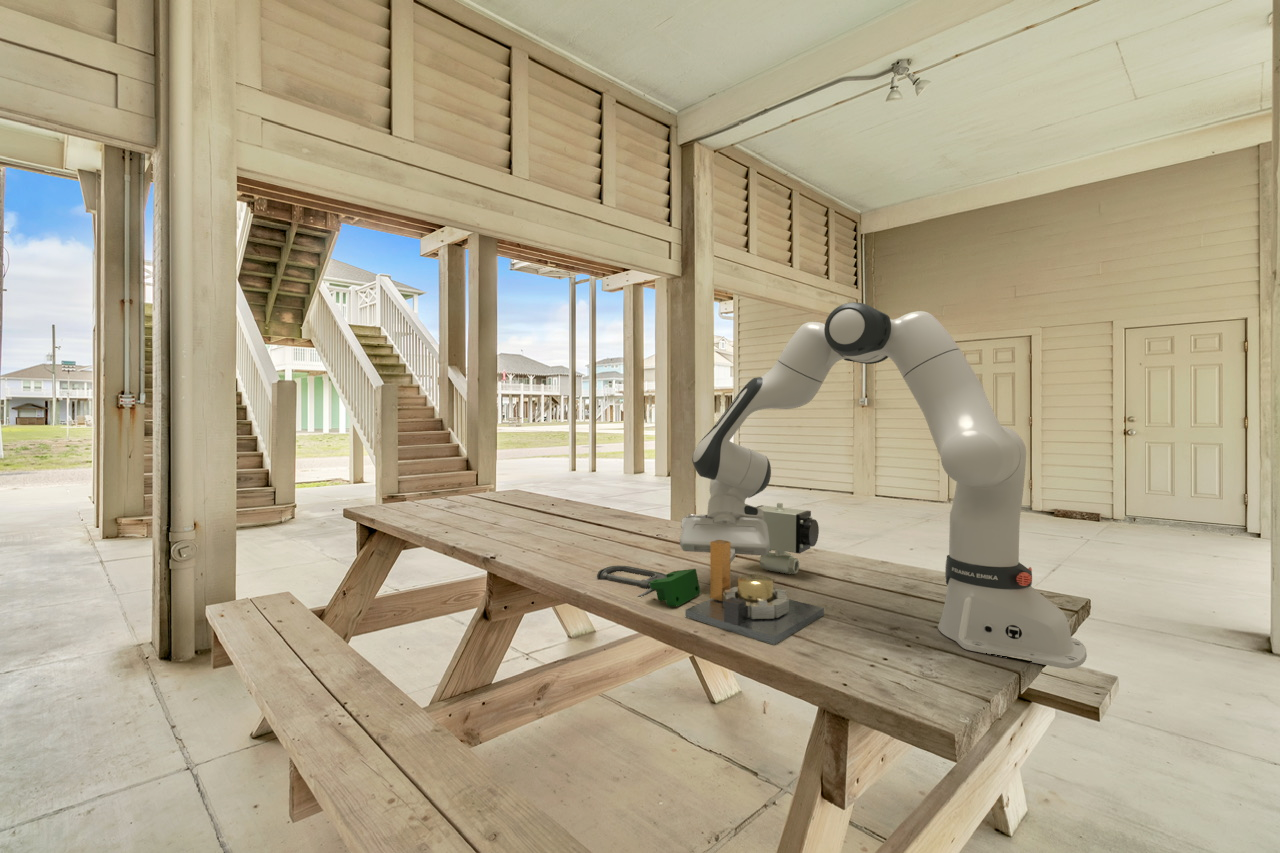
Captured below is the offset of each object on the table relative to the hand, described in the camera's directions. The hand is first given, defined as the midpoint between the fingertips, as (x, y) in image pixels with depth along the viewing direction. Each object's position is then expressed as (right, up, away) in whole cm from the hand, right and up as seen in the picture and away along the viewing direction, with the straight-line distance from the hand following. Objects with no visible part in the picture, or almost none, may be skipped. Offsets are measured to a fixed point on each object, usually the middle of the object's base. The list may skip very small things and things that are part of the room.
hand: (722, 568), depth 126 cm
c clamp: (-21, -7, +14) cm, 26 cm away
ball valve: (+18, -6, +21) cm, 29 cm away
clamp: (-11, -7, 0) cm, 13 cm away
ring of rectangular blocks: (+4, -5, -9) cm, 11 cm away
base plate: (+5, -7, -10) cm, 13 cm away
